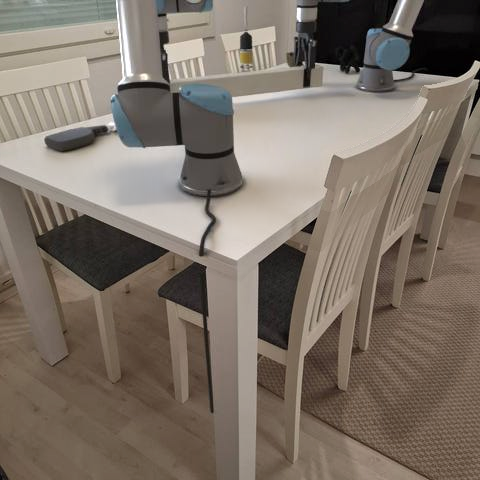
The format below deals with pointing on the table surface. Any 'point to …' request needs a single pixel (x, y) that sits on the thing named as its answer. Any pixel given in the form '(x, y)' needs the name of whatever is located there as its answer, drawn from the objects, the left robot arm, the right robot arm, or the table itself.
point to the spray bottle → (76, 137)
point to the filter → (245, 45)
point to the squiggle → (348, 59)
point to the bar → (256, 81)
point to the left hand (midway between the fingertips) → (164, 101)
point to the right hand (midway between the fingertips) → (302, 85)
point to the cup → (290, 59)
